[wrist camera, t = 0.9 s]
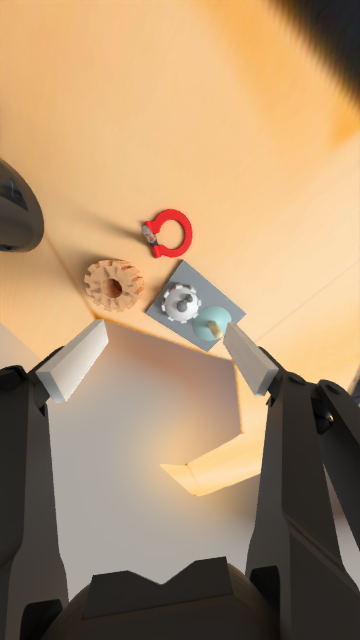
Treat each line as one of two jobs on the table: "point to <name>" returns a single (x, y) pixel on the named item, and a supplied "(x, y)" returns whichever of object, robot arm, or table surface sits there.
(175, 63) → the table surface
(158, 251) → the tow hook
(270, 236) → the table surface
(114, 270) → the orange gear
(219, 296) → the gear board
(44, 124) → the table surface
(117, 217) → the table surface
